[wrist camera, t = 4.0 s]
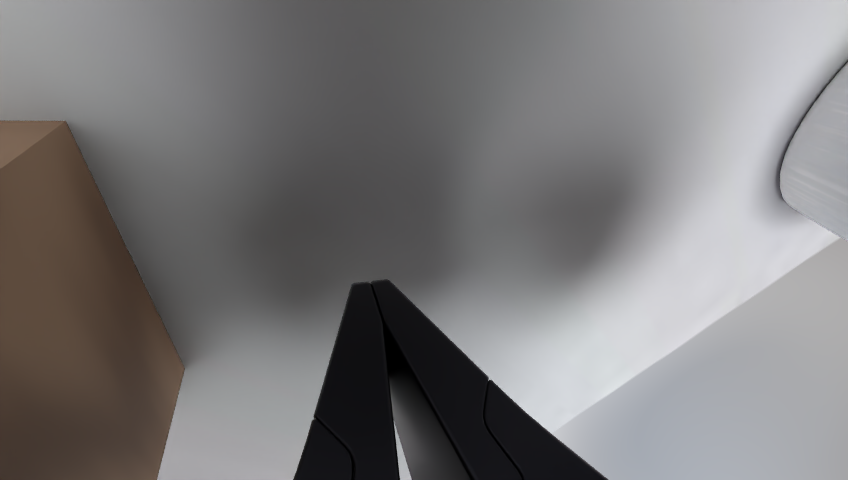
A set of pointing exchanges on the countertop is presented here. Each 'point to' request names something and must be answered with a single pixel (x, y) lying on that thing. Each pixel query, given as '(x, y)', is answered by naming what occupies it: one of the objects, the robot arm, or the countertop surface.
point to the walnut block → (74, 324)
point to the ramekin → (821, 160)
